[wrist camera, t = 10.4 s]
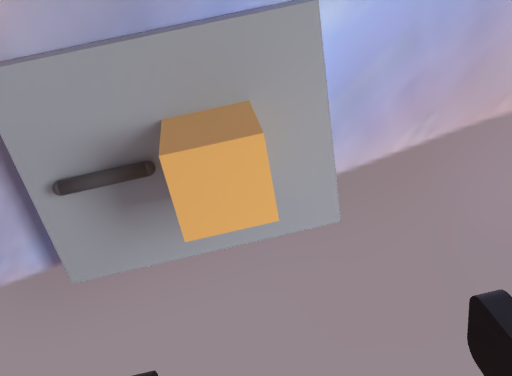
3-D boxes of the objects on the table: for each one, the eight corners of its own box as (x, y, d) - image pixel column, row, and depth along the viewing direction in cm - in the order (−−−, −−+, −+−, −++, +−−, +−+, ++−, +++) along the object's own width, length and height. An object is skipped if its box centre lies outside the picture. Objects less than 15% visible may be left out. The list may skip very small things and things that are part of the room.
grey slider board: (310, -4, 26) (338, 9, 21) (334, 209, 32) (358, 252, 28) (-19, 65, 25) (-61, 93, 20) (76, 269, 32) (60, 323, 27)
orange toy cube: (249, 100, 26) (263, 132, 22) (263, 177, 29) (279, 220, 24) (161, 119, 26) (158, 156, 22) (183, 195, 28) (184, 242, 24)
